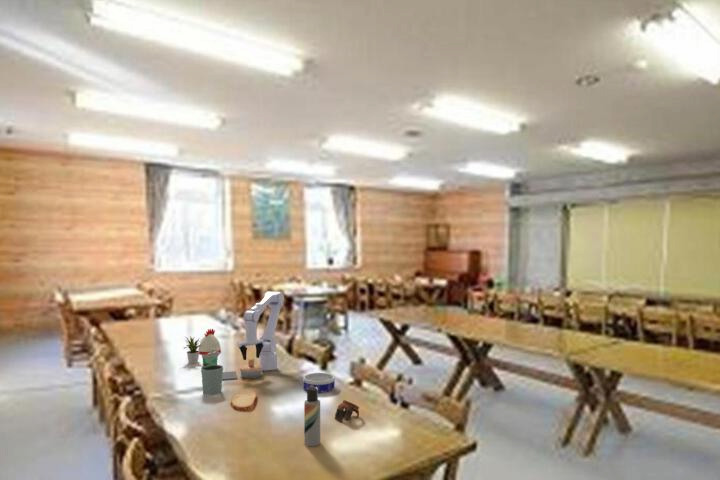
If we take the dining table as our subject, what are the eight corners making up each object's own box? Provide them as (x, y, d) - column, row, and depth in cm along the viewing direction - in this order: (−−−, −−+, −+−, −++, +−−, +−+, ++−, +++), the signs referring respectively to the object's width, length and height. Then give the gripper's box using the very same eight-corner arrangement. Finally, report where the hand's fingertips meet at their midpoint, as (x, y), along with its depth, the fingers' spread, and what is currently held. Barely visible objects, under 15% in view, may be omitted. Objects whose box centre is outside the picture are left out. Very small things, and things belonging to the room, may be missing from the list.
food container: (212, 373, 269) (212, 354, 269) (201, 372, 270) (201, 354, 270) (222, 367, 281) (222, 350, 281) (213, 366, 282) (213, 349, 282)
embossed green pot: (203, 396, 228) (203, 370, 228) (199, 390, 237) (199, 366, 237) (225, 393, 233) (225, 368, 233) (220, 387, 242) (220, 363, 242)
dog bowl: (339, 386, 246) (339, 373, 246) (327, 395, 231) (327, 382, 231) (311, 383, 251) (311, 371, 251) (298, 391, 236) (298, 379, 236)
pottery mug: (331, 417, 204) (339, 397, 206) (351, 426, 204) (359, 407, 207) (336, 419, 192) (344, 399, 195) (357, 429, 193) (365, 409, 196)
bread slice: (246, 413, 207) (246, 404, 207) (216, 406, 217) (216, 397, 217) (275, 401, 222) (275, 393, 222) (246, 395, 232) (246, 387, 232)
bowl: (260, 372, 270) (260, 365, 270) (263, 377, 260) (263, 370, 260) (239, 374, 267) (239, 366, 267) (241, 379, 256) (241, 371, 256)
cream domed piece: (225, 351, 322) (225, 328, 322) (208, 355, 310) (208, 331, 311) (210, 348, 330) (210, 326, 330) (193, 352, 318) (193, 329, 318)
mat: (235, 372, 271) (235, 371, 271) (237, 379, 257) (237, 377, 257) (205, 374, 266) (205, 373, 266) (205, 381, 252) (205, 380, 252)
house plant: (173, 363, 289) (173, 336, 289) (189, 358, 302) (189, 332, 302) (192, 366, 284) (192, 337, 284) (208, 360, 297) (208, 333, 297)
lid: (261, 364, 271) (261, 356, 271) (264, 370, 260) (264, 361, 260) (239, 366, 267) (239, 357, 267) (240, 372, 256) (240, 362, 256)
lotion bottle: (311, 439, 180) (311, 384, 180) (323, 442, 177) (323, 386, 177) (301, 444, 175) (301, 388, 175) (313, 448, 172) (313, 390, 172)
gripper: (259, 330, 271) (259, 355, 271) (235, 333, 262) (235, 359, 262) (266, 332, 266) (266, 357, 266) (241, 335, 256) (241, 361, 256)
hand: (251, 358), depth 263 cm, fingers open, 7 cm apart
